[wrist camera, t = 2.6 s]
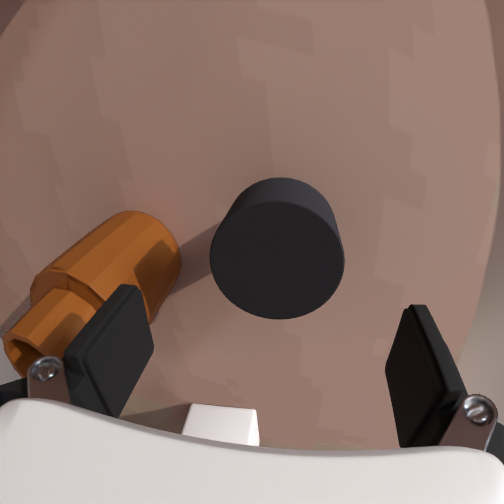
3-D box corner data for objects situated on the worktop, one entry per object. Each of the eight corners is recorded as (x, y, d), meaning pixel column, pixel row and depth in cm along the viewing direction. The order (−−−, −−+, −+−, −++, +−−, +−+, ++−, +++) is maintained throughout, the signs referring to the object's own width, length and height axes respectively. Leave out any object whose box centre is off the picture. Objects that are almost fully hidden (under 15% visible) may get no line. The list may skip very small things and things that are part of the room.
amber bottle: (92, 210, 23) (-29, 302, 11) (176, 211, 22) (64, 331, 10) (109, 288, 26) (24, 396, 14) (185, 297, 25) (116, 433, 13)
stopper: (237, 163, 20) (205, 197, 13) (333, 167, 19) (352, 204, 12) (239, 248, 22) (213, 314, 16) (326, 254, 22) (335, 323, 15)
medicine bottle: (202, 434, 35) (178, 516, 24) (190, 401, 31) (158, 496, 21) (259, 440, 33) (245, 527, 23) (256, 408, 30) (237, 511, 20)
